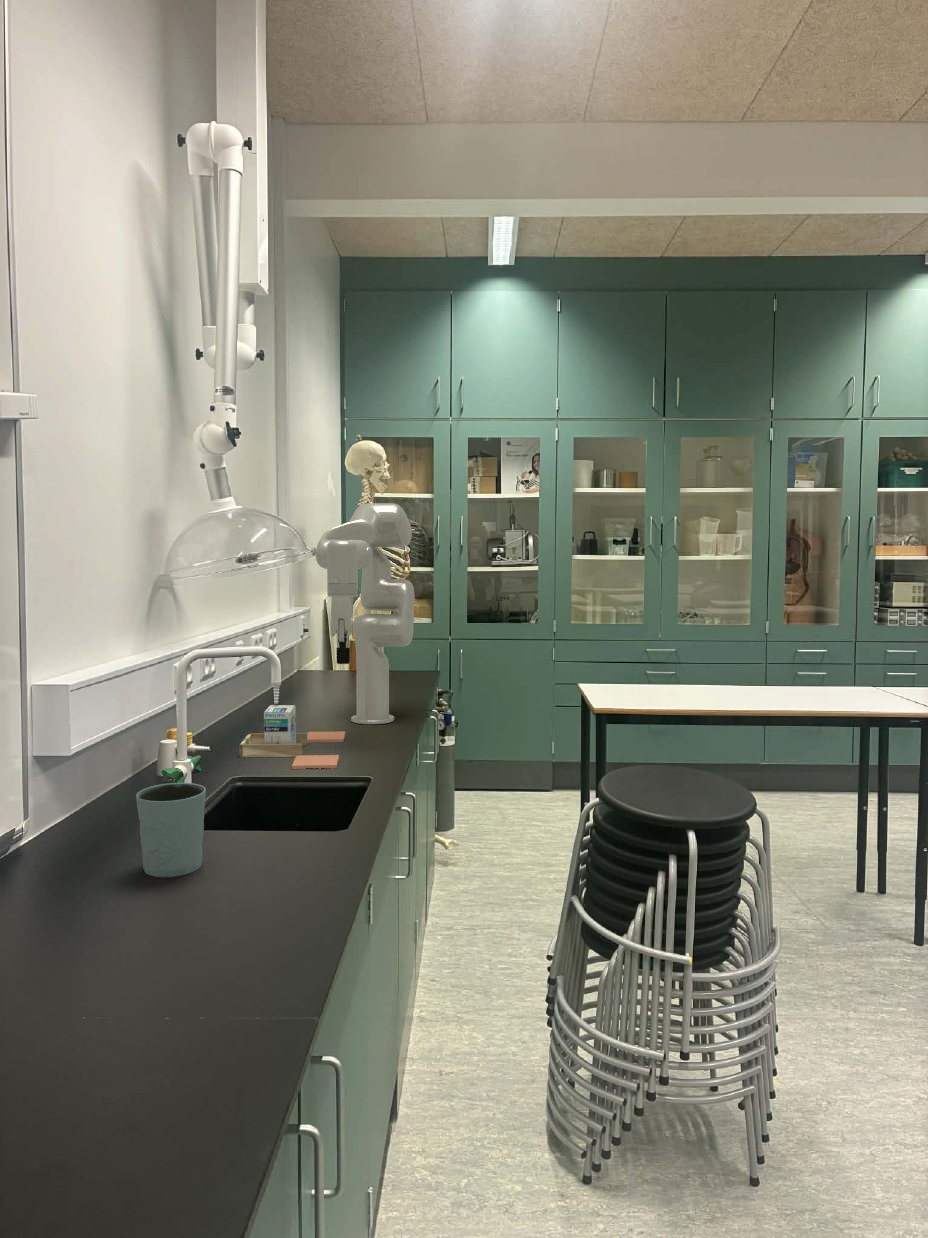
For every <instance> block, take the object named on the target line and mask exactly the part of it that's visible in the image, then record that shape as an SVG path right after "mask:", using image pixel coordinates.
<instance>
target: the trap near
mask: <svg viewBox="0 0 928 1238" xmlns="http://www.w3.org/2000/svg"><path fill="white" fill-rule="evenodd" d="M339 760H340V755H339V754H324V755H323V754H321V755H319V754H314V755H309V754H307V755H304V754H302V755H300V756H296V757H294V760H293V763H292V765H291V770H307V769H306V768H314V769H313V770H316V769H315V768H319V770H320V769H321V768H325V769H326V768H327V769H328V770H329V768H330V770H331V769H332V770H333V769H337V767H338V763H339ZM325 769H324V770H325ZM321 770H322V769H321Z"/></svg>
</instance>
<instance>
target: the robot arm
mask: <svg viewBox="0 0 928 1238" xmlns="http://www.w3.org/2000/svg"><path fill="white" fill-rule="evenodd" d="M412 532H413V531H412V526H411V523H410V520H409V518H408V516H407V513H406V512H405V509H403V507H402V506H401V505H399V504H397V503H393V502H392V503H391V502H387V503H385V502H384V503H383V502H382V503H381V502H380V503H379V502H378V503H377V502H374V503H373V502H369V503H363V504H361V505H359V506H358V507H357V508H356V509H355V510H354V512H353V514H352V515H351V518H350V519H349V521H348V522H345V523H342V524H340V525H338V526H334V527H332V528H330V529H329V530H327V531H325V532H324V533H323V534H322V536H321V537H320V539H319V540H318V542H317V545H316V547H315V548H316V549H315V561H316V562H317V565H319V567H320V568H322V569H325V570H327V571H326V573H327V575H326V576H327V577H326V583H327V584H326V586H327V591H326V592H327V597H329V598H331V601H330V602H331V603H330V636H331V637H335V635H336V665H349V664H350V663H351V648H350V636H351V634H352V633H353V640H354V645H355V656H356V657H355V661H356V662H355V663H356V667H355V669H356V681H355V682H356V686H355V687H356V692H355V693H356V714H354V715H352V716H351V718H350V719H351V722H352V723H355V724H360V725H361V724H362V725H383V724H389V723H392V722H394V721H395V716H394V715H392V714H390V664H389V663H390V662H389V658H388V656H387V655H386V654H385V652H384V651H383V649H381V648H382V647H383V648H385V647H386V648H389V647H394V648H396V647H397V648H399V647H403V648H404V647H407V646H409V645H411V643H412V640H413V638H414V637H413V636H414V619H415V601H416V599H415V598H416V597H415V595H416V593H415V588H414V585H413V583H412V582H411V581H410V580H408V579H406V578H405V579H404V578H391V577H392V576H391V575H392V574H391V572H392V565H391V564H392V563H391V561H390V560H389V558H388V556H387V555H386V554H385V553H384V552H383V551H382V550H381V548H405V547H407V546H408V545H409V544H411V540H412V535H413V533H412ZM359 570H362V573H361V585H360V586H361V587H360V602H361V606H362V607H363V609H366V610H368V611H374V612H375V611H376V612H377V611H378V612H383V611H384V612H396V613H397V614H396V613H395V614H394V613H393V614H391V613H388V614H387V613H364V614H361V615H358V616H357V617H356V618H355V619H354V597H355V598H356V597H358V596H359V595H358V594H359V586H358V585H359V582H358V581H359V580H358V578H359V576H358V575H359V572H358V571H359Z"/></svg>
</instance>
